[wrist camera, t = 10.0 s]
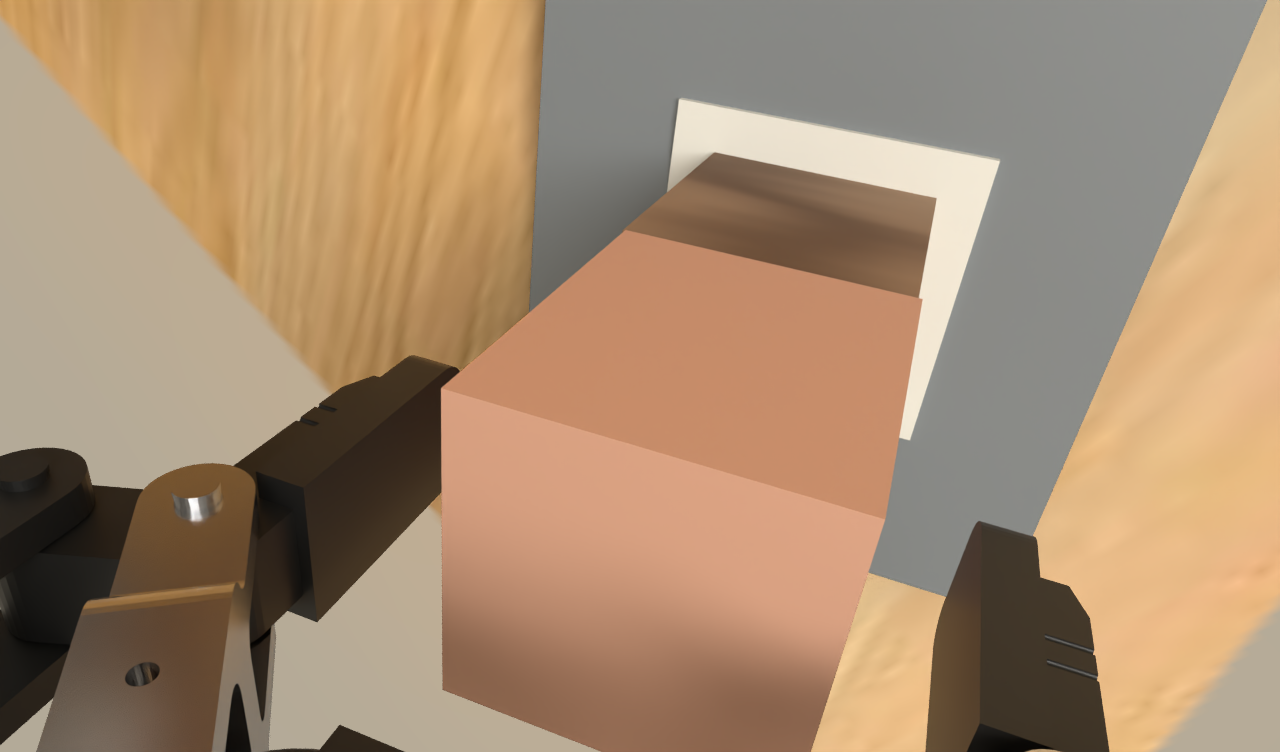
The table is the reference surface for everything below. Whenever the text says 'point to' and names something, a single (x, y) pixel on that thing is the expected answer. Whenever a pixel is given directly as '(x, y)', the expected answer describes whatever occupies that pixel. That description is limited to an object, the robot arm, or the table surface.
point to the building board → (917, 190)
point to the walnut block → (798, 221)
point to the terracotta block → (670, 498)
